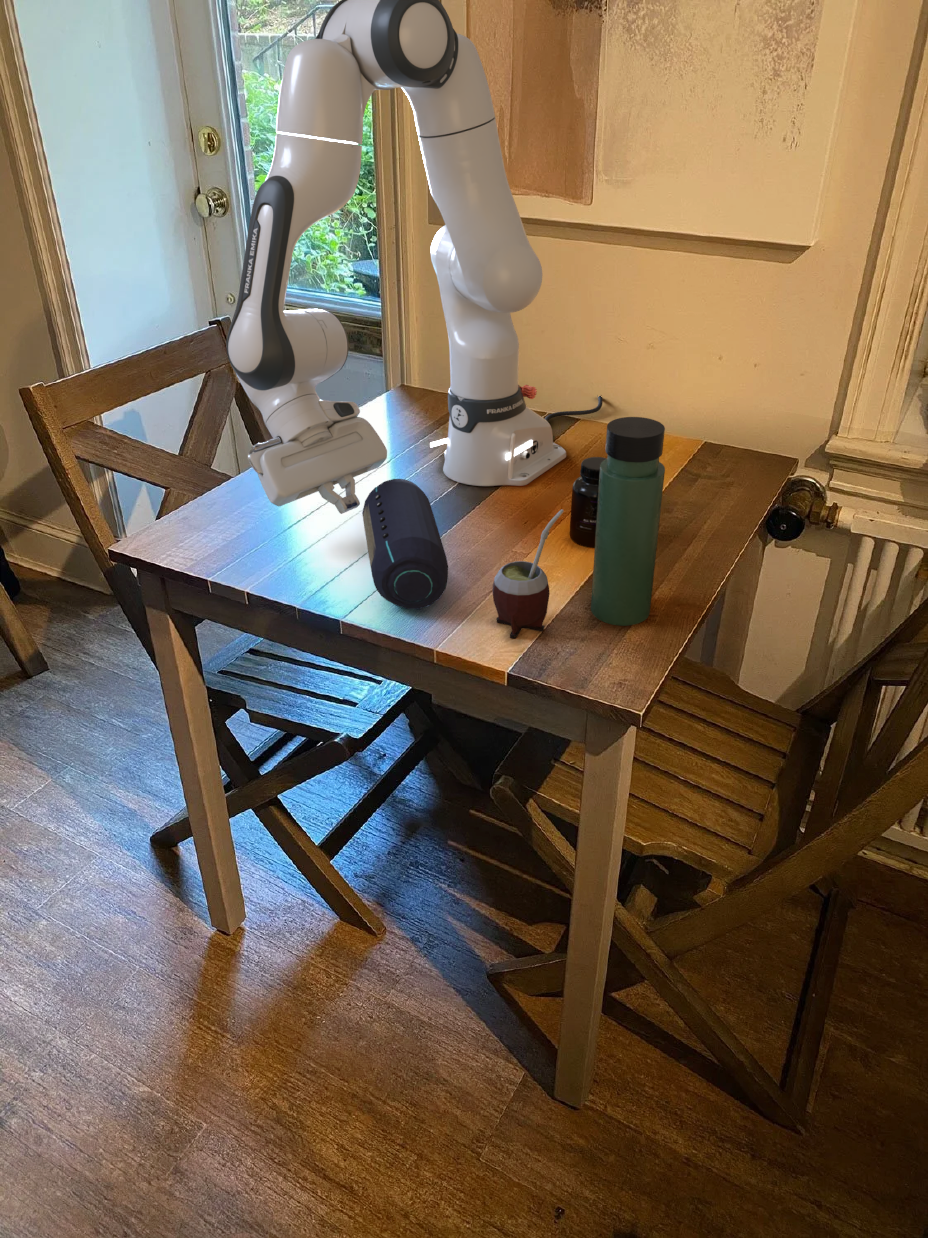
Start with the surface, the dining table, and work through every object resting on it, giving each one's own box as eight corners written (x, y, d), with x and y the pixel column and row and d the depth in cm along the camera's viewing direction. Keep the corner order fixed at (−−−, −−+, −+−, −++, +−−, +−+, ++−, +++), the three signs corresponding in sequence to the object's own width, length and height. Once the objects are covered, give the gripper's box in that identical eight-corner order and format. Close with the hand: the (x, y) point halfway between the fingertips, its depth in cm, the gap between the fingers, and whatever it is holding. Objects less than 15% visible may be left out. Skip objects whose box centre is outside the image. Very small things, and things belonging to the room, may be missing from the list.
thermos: (614, 588, 126) (629, 410, 113) (661, 609, 122) (682, 426, 108) (578, 610, 122) (589, 427, 108) (626, 632, 117) (643, 444, 104)
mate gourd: (484, 635, 118) (484, 528, 109) (505, 603, 124) (506, 500, 116) (542, 646, 115) (545, 537, 107) (559, 613, 121) (564, 508, 113)
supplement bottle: (586, 553, 135) (590, 476, 128) (560, 534, 140) (563, 459, 133) (625, 542, 137) (631, 466, 131) (598, 524, 142) (603, 449, 136)
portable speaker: (363, 534, 141) (358, 472, 136) (429, 528, 142) (426, 467, 137) (377, 624, 120) (371, 555, 115) (454, 616, 121) (452, 548, 116)
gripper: (249, 438, 128) (300, 524, 128) (364, 399, 140) (411, 478, 140) (235, 459, 134) (284, 542, 133) (348, 420, 145) (393, 496, 145)
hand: (350, 509), depth 136 cm, fingers closed
